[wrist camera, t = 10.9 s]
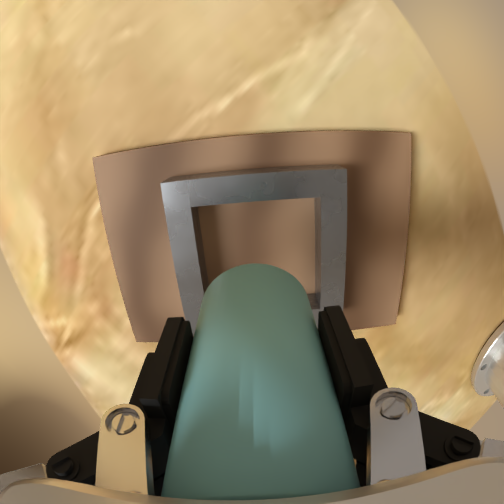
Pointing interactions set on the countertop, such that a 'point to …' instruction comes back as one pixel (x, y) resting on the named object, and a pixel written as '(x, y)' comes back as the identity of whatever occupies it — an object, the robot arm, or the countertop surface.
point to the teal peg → (257, 397)
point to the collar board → (259, 220)
